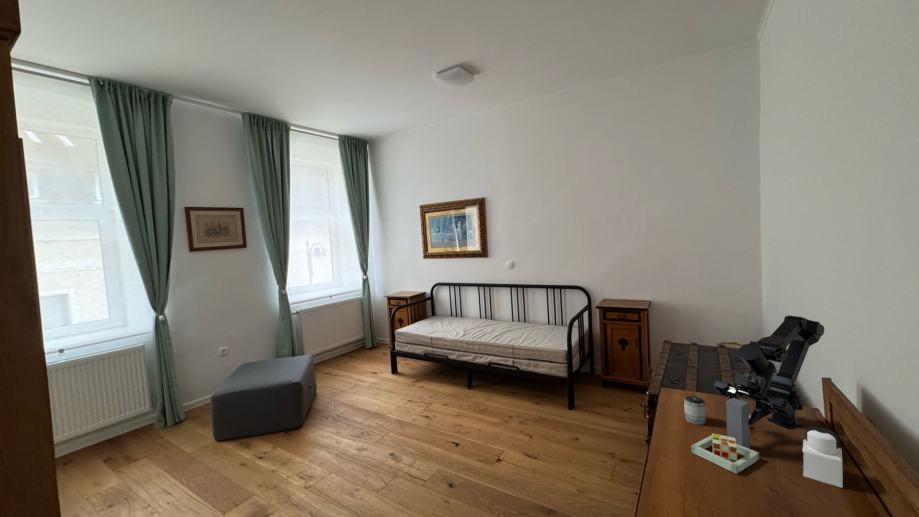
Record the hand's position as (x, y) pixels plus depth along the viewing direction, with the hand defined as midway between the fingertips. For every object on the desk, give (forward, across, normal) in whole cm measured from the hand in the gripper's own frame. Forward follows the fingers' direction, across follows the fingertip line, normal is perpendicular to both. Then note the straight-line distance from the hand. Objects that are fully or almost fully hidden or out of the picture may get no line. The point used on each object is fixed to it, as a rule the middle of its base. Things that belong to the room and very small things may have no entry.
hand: (740, 421), depth 108 cm
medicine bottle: (+4, +17, +7) cm, 19 cm away
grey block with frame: (+10, 0, 0) cm, 10 cm away
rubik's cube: (+13, 0, -2) cm, 13 cm away
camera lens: (+3, -16, +9) cm, 18 cm away
